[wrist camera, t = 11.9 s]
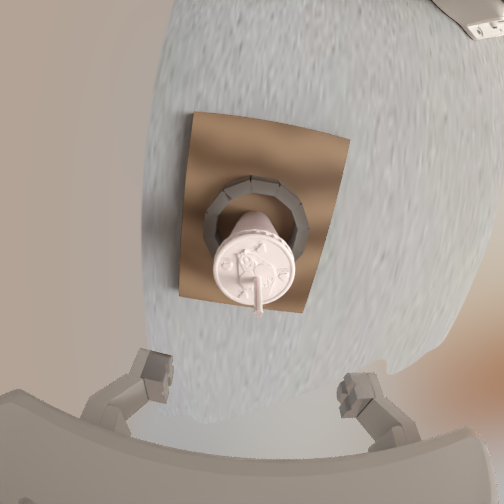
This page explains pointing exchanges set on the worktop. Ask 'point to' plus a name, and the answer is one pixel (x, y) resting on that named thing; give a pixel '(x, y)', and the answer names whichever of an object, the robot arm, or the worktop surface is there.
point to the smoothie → (254, 263)
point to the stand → (257, 196)
